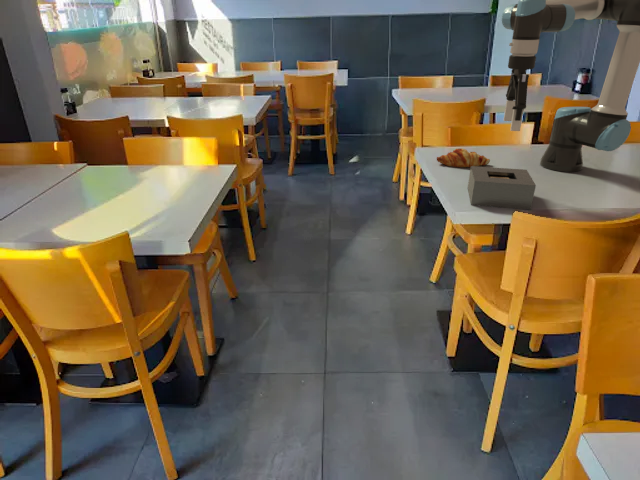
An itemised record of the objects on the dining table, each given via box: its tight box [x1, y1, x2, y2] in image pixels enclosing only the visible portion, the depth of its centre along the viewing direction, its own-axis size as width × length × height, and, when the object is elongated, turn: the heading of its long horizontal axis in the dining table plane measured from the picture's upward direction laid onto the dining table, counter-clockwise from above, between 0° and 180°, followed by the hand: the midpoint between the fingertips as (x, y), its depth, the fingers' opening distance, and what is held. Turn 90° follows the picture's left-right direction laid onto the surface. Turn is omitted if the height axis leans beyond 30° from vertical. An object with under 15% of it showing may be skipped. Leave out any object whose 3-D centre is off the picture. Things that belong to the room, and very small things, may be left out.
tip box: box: [467, 166, 537, 211], centre depth 158 cm, size 18×16×8 cm
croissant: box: [436, 148, 491, 168], centre depth 193 cm, size 21×10×8 cm, turn 91°
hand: (511, 125), depth 155 cm, fingers open, 13 cm apart
